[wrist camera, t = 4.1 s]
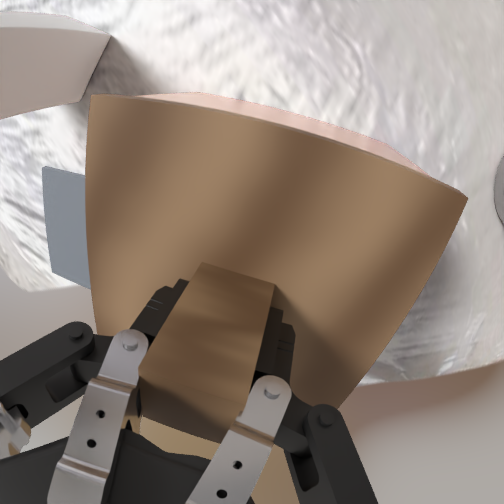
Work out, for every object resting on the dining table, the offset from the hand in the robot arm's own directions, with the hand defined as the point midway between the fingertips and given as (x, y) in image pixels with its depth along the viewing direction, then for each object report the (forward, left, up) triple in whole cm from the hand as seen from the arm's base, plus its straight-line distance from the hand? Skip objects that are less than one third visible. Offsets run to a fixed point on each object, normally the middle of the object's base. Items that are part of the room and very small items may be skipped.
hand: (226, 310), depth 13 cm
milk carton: (+22, -10, -14) cm, 28 cm away
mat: (+18, +9, -14) cm, 24 cm away
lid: (0, 0, -2) cm, 2 cm away
